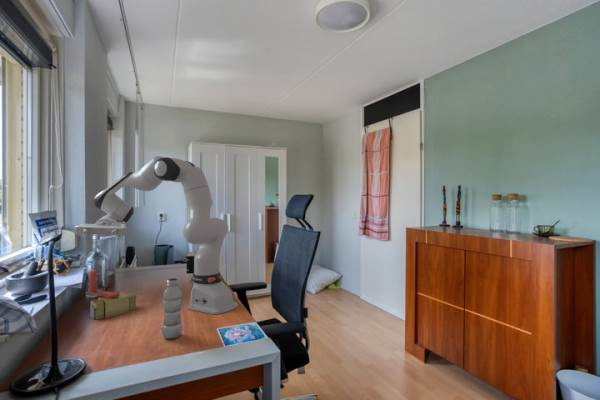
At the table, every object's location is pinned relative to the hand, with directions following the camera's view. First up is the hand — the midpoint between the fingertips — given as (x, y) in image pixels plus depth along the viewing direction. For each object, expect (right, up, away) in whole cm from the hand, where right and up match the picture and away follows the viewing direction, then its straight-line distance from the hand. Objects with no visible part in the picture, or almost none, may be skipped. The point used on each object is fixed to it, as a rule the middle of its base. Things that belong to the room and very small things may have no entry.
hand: (98, 233), depth 136 cm
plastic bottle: (+44, -33, -28) cm, 62 cm away
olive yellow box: (+11, -32, -6) cm, 35 cm away
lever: (+6, -25, -6) cm, 27 cm away
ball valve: (+28, -32, +42) cm, 60 cm away
